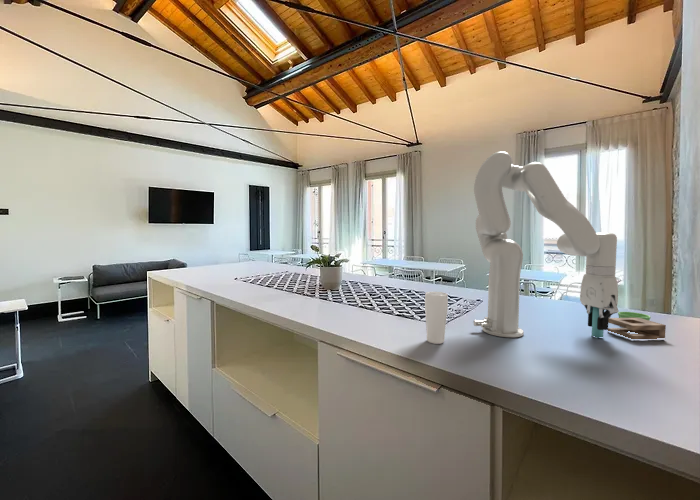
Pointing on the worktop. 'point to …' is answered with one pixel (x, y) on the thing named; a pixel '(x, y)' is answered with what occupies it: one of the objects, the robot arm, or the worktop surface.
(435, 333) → the drinking glass
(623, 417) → the worktop surface
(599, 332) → the peg
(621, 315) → the ramekin
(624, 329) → the block
